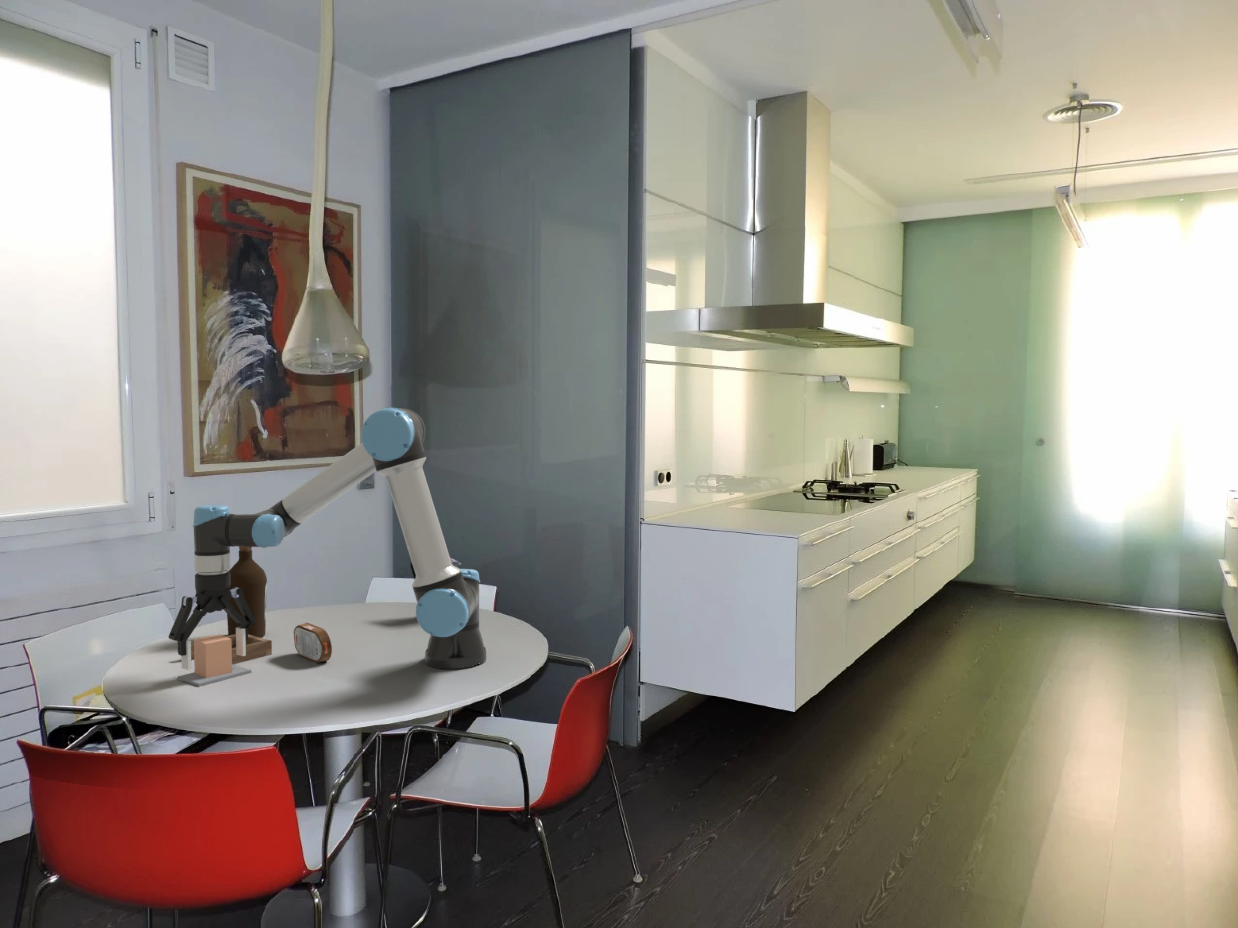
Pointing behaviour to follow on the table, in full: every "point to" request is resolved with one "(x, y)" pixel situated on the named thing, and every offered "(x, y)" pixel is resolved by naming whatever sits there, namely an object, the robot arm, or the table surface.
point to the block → (213, 656)
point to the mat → (201, 680)
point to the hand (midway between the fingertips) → (214, 661)
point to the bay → (247, 648)
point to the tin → (312, 642)
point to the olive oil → (249, 591)
